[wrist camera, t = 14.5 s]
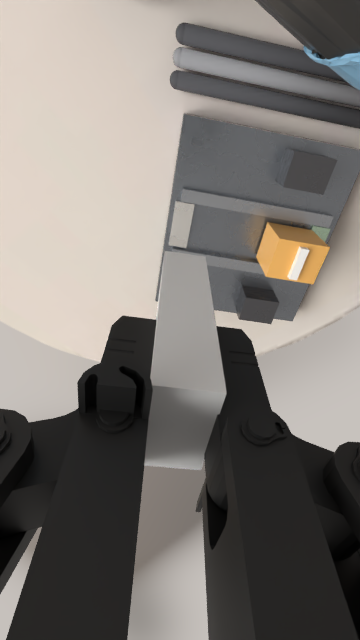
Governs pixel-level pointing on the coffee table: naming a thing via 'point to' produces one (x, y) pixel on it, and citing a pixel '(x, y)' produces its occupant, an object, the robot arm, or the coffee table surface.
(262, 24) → the coffee table surface
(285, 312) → the panel
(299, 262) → the slider
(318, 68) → the grey cylinders
